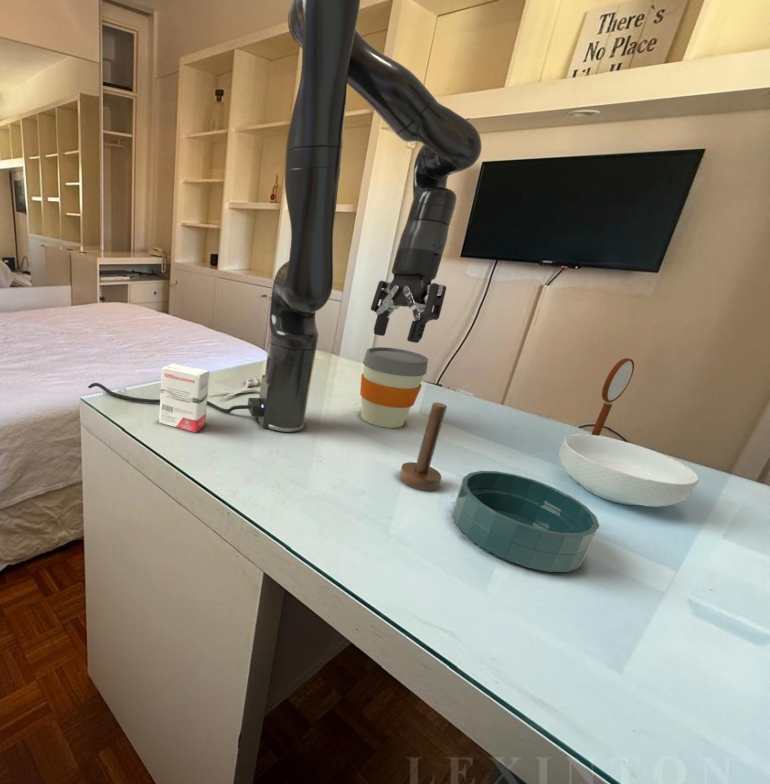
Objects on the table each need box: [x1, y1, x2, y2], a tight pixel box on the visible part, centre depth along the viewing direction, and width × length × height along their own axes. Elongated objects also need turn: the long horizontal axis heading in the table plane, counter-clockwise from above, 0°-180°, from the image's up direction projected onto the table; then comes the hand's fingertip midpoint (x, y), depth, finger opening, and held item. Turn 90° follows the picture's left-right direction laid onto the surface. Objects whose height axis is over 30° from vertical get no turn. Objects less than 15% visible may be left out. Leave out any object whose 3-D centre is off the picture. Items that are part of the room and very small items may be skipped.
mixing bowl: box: [451, 470, 600, 573], centre depth 63 cm, size 15×15×6 cm
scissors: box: [209, 376, 260, 400], centre depth 112 cm, size 11×1×20 cm
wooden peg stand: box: [398, 402, 448, 492], centre depth 74 cm, size 6×6×14 cm
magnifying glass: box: [590, 357, 635, 436], centre depth 87 cm, size 9×2×20 cm, turn 117°
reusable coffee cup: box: [359, 346, 429, 429], centre depth 99 cm, size 13×13×15 cm
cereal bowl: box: [558, 433, 699, 507], centre depth 76 cm, size 17×17×7 cm
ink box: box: [158, 363, 210, 433], centre depth 90 cm, size 8×5×12 cm, turn 63°
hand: (395, 338), depth 86 cm, fingers open, 8 cm apart
